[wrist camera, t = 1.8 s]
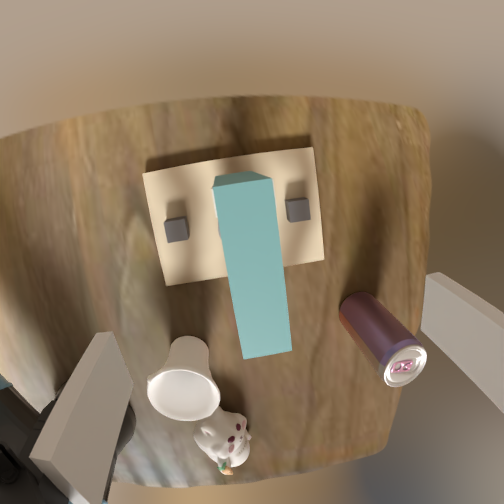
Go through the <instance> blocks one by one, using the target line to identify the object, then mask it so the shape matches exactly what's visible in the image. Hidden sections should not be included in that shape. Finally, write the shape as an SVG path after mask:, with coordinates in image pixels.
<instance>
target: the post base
mask: <svg viewBox="0 0 504 504" xmlns="http://www.w3.org/2000/svg"><path fill="white" fill-rule="evenodd" d="M244 171H253V172H256V173H258V174H261V175H264V176H267V177H270V178H272V179H273V181H274V188H275V196H276V203H277V208H276V213H277V221H278V229H279V237H280V245H281V254H282V262H283V267H285V266H291V265H296V264H302V263H308V262H313V261H319V260H324V251H323V238H322V226H321V215H320V205H319V195H318V186H317V177H316V168H315V160H314V152H313V147H309V148H299V149H290V150H281V151H273V152H265V153H257V154H250V155H243V156H236V157H229V158H223V159H217V160H211V161H205V162H199V163H194V164H188V165H183V166H178V167H172V168H167V169H162V170H158V171H153V172H148V173H144V174H143V179H144V185H145V190H146V196H147V201H148V206H149V211H150V216H151V221H152V226H153V230H154V235H155V240H156V244H157V249H158V253H159V257H160V262H161V266H162V270H163V274H164V278H165V282H166V286H171V285H177V284H183V283H190V282H196V281H202V280H208V279H214V278H220V277H226V276H228V274H227V268H226V263H225V257H224V251H223V246H222V240H221V234H220V228H219V222H218V218H216V215H215V209H214V203H213V197H212V191H211V188H212V186H213V184H214V179H215V176H219V175H225V174H231V173H238V172H244Z"/></svg>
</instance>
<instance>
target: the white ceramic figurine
mask: <svg viewBox="0 0 504 504" xmlns="http://www.w3.org/2000/svg"><path fill="white" fill-rule="evenodd" d="M246 424H247V420H246V418H245V417H244V416H243V415H241V414H239V413H230V412H228V411H223V410H222V409H221V407H220V406H219V405H218V407H217V408H216V409H215V411H214V412H213V413H212V414H211V415H210V416H208V417H205V418H203V419H200V420H198V421H197V423H196V426H195V429H194V439H195V441H196V443H197V444H198V446H199V447H200V448H201V449H202V450H203V451H204V452H206V453H207V455H208V456H209V457H210V458H211V459H213V460H214V461H215V462H217V463H218V467H217V468H218V469H219V470H220V471H221V472H222V473H223V474H229V475H232V474H233V471H232V469H231V467H235V466H238V465H241V464H242V463H243V462H244V461H245V460H246V459H247V457H248V455H249V451H250V446H249V442H248V440H249V439H250V438H251V435H249V434H248V432H247V430H246V429H245V428H246ZM247 439H248V440H247Z"/></svg>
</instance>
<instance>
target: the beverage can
mask: <svg viewBox="0 0 504 504" xmlns="http://www.w3.org/2000/svg"><path fill="white" fill-rule="evenodd" d="M339 318H340V321H341V323H342V324H343V326H344V327H345V329H346V330H347V331H348V333H349V334H350V336H351V337H352V338H353V340H354V341H355V343H356V344H357V345H358V347H359V348H360V350H361V351H362V352H363V354H364V355H365V357H366V358H367V360H368V361H369V362H370V364H371V365H372V367H373V368H374V370H375V371H376V372H377V374H378V375H379V377H380V378H381V379H382V380H383V381H385V382H386V384H388V385H389V386H392V387H399V386H403V385H405V384H407V383H409V382H411V381H412V380H413V379H414V378H416V377H417V376H418V375H419V374H420V372H421V371H422V369H423V367H424V366H425V363H426V358H427V356H426V355H427V354H426V351H425V349H424V348H423V346H422V344H421V342H420V341H419V340H418V339H417V338H416V337H415V336H414V335H413V334H412V333H411V332H410V331H409V330H407V329H406V328H405V327H404V326H403V325H402V324H401V323H400V322H399V321H398V320H397V319H396V318H395V317H394V316H393V315H392V314H391V313H390V312H389V311H388V310H387V309H386V308H385V307H384V306H383V305H382V304H381V303H380V302H379V301H378V300H377V299H376V298H374V297H373V296H372V295H371V294H370V293H367V292H357V293H354V294H352V295H350V296H348V297H347V298H346V299H345V300H344V302H343V303H342V305H341V308H340V311H339Z"/></svg>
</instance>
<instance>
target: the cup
mask: <svg viewBox="0 0 504 504" xmlns="http://www.w3.org/2000/svg"><path fill="white" fill-rule="evenodd" d="M208 358H209V349H208V347H207V345H206V343H205V342H203V341H202V340H201V339H199V338H197V337H194V336H183V337H179V338H177V339H175V341H174V342H173V343H172V344H171V348H170V353H169V356H168V359H167V361H166V363H165V364H164V365H163V367H162V368H161V369H160V370H159V371H157V372H156V373H154V374H151V375H149V376H148V377H147V381H148V385H147V396H148V398H149V400H150V402H151V404H152V405H153V406H154V407H155V409H156V410H158V411H159V412H160V413H162V414H163V415H165V416H167V417H169V418H172V419H175V420H181V421H194V420H200V419H203V418H205V417H208V416H210V415H211V414H212V413H213V412H214V411H215V409H216V408H217V407H218V405H219V402H220V391H219V389H218V387H217V385H216V383H215V382H214V380H213V379H212V376H211V372H210V370H209V365H208Z"/></svg>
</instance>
